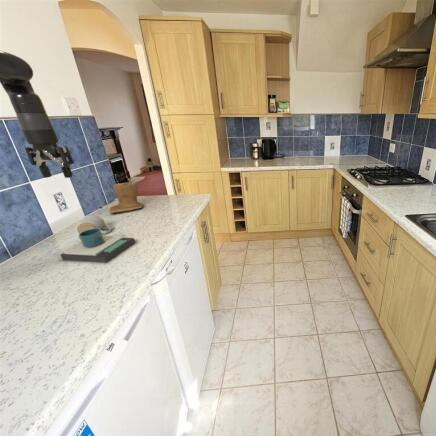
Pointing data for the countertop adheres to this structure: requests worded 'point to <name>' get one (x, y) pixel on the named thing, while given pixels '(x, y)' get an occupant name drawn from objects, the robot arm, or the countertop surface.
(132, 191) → the brown upright piece
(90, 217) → the ceramic mug
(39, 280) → the countertop surface
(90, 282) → the countertop surface
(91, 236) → the bowl
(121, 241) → the scale
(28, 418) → the countertop surface
